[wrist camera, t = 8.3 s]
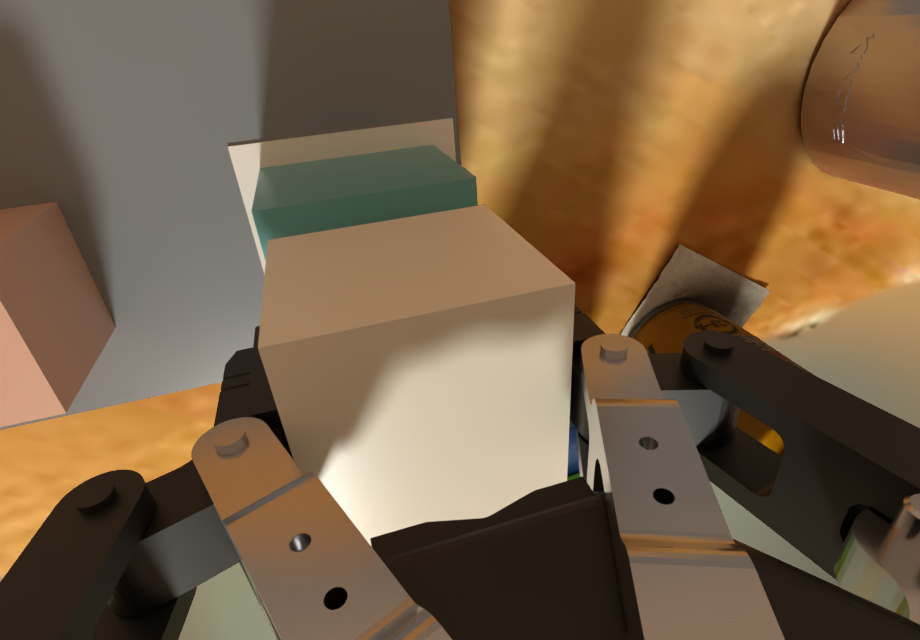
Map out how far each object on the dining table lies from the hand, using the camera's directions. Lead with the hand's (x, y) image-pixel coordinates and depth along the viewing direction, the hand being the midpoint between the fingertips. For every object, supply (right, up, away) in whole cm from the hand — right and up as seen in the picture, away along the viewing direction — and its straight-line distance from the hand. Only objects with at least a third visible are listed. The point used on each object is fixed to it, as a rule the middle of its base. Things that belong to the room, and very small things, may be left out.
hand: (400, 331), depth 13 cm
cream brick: (0, 0, +1) cm, 1 cm away
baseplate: (-8, +5, +5) cm, 10 cm away
